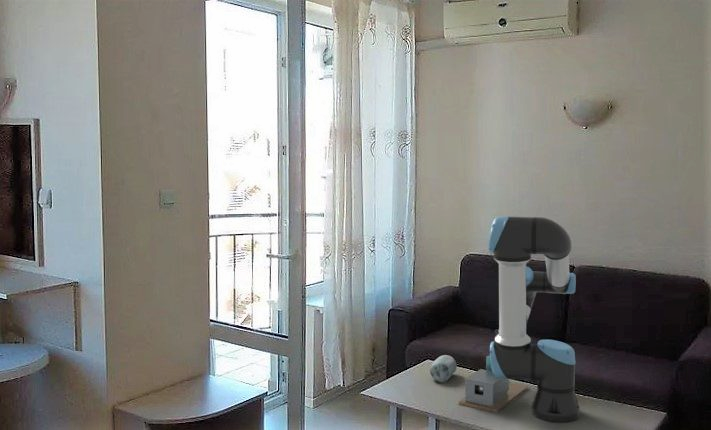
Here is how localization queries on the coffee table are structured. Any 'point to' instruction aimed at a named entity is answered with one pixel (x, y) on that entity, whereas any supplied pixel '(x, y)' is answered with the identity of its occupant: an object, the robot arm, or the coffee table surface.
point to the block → (488, 367)
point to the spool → (443, 368)
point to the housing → (490, 391)
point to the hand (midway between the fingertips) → (499, 374)
